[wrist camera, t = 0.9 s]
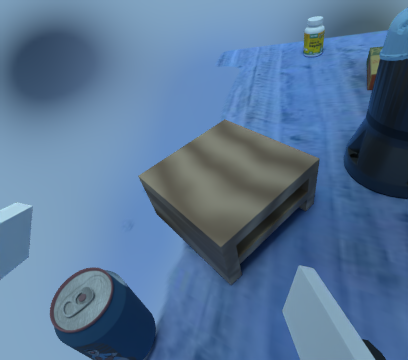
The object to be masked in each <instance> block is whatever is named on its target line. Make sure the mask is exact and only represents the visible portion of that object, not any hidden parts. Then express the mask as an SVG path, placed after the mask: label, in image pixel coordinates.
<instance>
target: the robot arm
mask: <svg viewBox="0 0 408 360" xmlns="http://www.w3.org/2000/svg"><path fill="white" fill-rule="evenodd" d="M379 56H380V61H379V65H378V69H377V73H376V78H375V82H374V86H373V90H372V94H371V98H370V102H369V106H368V111H367V115H366V118H365V119H364V121H363V122H362V124H361V125H360V127H359V128H358V129H357V131H356V132H355V134H354V135H353V137H352V138H351V140H350V141H349V143H348V145H347V147H346V151H345V156H344V164H345V167H346V169H347V171H348V173H349V174H350V175H351V176H352V177H353V178H354V179H355V180H356V181H358V182H359V183H360V184H362V185H364V186H365V187H367V188H369V189H371V190H374V191H376V192H379V193H382V194H385V195H389V196H394V197H400V198H408V8H406V9H405V10H403V11H402V12H400V13H399V14H398V15H397V16H396V17H395V19H394V20H393V21H392V23H391V25H390V27H389V30H388V33H387V36H386V39H385V43H384V46H383V48H382V50H381V51H380V54H379ZM32 208H33V206H30V205H26V204H21V203H17V202H16V203H14V204H12V205H10V206H8V207H6V208H4V209H1V210H0V280H1V279H2V278H3V277H4V276H6V275H7V274H8V273H9V272H10V271H12V270H13V269H14V268H16V267H17V266H18V265H19V264H20V263H22V262H23V261H24V260H25V259H27V258H28V257H29V245H30V231H31V220H32ZM282 312H283V315H284V317H285V320H286V323H287V326H288V328H289V331H290V334H291V336H292V339H293V342H294V344H295V347H296V350H297V352H298V355H299V358H300V360H386V359H385V357H384V356H383V355H382V353H381V352H380V351H379V350H378V349H376V348H375V347H374V346H373V345H372V344H371V343H370V342H369V341H368V340H364V339H361V338H360V336H359V335H358V333H357V332H356V330H355V329H354V327H353V326H352V324H351V323H350V321H349V320H348V318H347V317H346V315H345V314H344V312H343V311H342V309H341V308H340V306H339V305H338V304H337V302H336V301H335V299H334V298H333V296H332V295H331V293H330V292H329V290H328V289H327V287H326V286H325V284H324V283H323V281H322V280H321V278H320V277H319V275H318V274H317V272H316V271H315V269H314V268H310V267H305V266H301V265H299V266H298V269H297V272H296V275H295V277H294V280H293V283H292V286H291V288H290V291H289V294H288V297H287V299H286V302H285V305H284V308H283V310H282Z"/></svg>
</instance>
